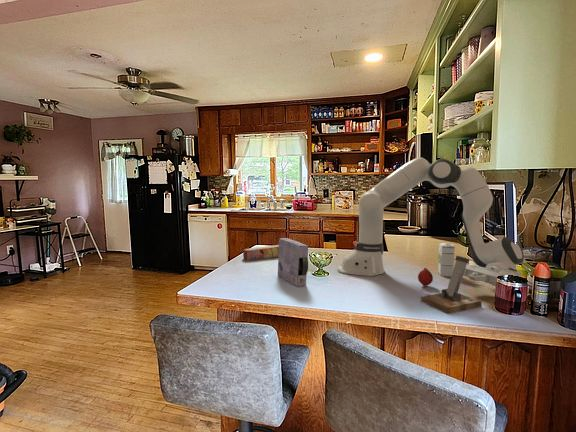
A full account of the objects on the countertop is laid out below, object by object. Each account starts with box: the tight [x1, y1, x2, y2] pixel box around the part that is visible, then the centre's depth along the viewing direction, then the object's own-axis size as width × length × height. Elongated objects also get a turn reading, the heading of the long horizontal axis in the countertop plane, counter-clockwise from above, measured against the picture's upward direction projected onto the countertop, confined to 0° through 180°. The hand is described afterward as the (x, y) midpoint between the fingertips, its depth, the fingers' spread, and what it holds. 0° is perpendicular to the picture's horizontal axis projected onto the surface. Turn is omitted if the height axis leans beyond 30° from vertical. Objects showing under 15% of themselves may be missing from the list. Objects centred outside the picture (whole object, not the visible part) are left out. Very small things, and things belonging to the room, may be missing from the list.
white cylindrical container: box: [437, 242, 456, 277], centre depth 158 cm, size 6×6×14 cm
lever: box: [446, 255, 470, 299], centre depth 121 cm, size 2×4×15 cm, turn 24°
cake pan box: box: [277, 237, 309, 288], centre depth 147 cm, size 19×5×18 cm, turn 29°
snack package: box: [242, 244, 279, 261], centre depth 189 cm, size 21×7×7 cm, turn 117°
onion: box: [417, 267, 434, 287], centre depth 141 cm, size 6×6×8 cm
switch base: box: [420, 288, 482, 315], centre depth 121 cm, size 16×12×5 cm
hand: (472, 278), depth 124 cm, fingers closed
